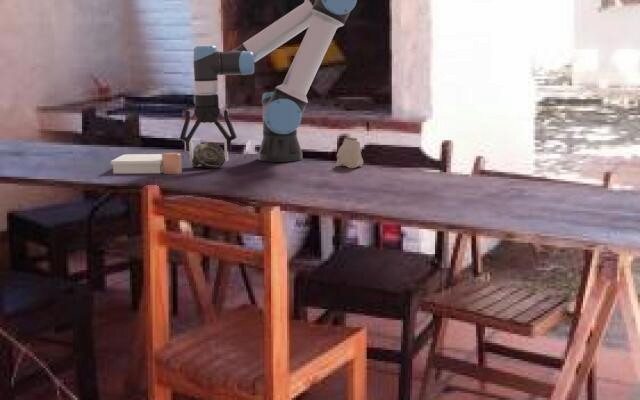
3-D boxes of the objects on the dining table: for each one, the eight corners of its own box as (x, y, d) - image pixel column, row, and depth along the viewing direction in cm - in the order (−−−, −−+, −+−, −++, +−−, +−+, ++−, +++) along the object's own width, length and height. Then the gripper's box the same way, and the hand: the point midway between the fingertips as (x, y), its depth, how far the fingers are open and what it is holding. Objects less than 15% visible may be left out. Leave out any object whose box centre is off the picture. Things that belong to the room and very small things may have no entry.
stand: (171, 165, 307) (171, 154, 306) (161, 173, 291) (160, 160, 290) (124, 166, 308) (123, 154, 307) (111, 173, 292) (110, 161, 291)
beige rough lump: (362, 173, 300) (370, 143, 301) (354, 167, 294) (362, 137, 295) (338, 168, 304) (345, 139, 305) (329, 162, 297) (337, 133, 298)
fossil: (209, 168, 295) (197, 140, 296) (192, 179, 301) (180, 152, 302) (232, 163, 304) (220, 135, 305) (215, 174, 309) (203, 147, 310)
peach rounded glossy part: (183, 171, 296) (182, 152, 295) (179, 174, 290) (178, 155, 289) (164, 171, 296) (164, 152, 295) (160, 174, 290) (159, 155, 289)
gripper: (243, 92, 302) (246, 159, 306) (173, 93, 303) (176, 159, 307) (240, 94, 295) (243, 162, 299) (168, 95, 296) (171, 162, 300)
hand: (209, 161), depth 303 cm, fingers closed on fossil, 11 cm apart
